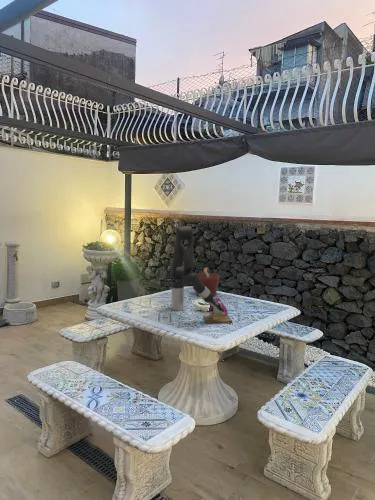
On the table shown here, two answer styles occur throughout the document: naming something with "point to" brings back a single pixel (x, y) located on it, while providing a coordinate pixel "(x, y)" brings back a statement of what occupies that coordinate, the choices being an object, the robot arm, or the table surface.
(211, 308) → the mounting bracket
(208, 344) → the table surface
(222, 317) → the cup bracket
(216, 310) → the rail post
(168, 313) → the table surface
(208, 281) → the bucket
